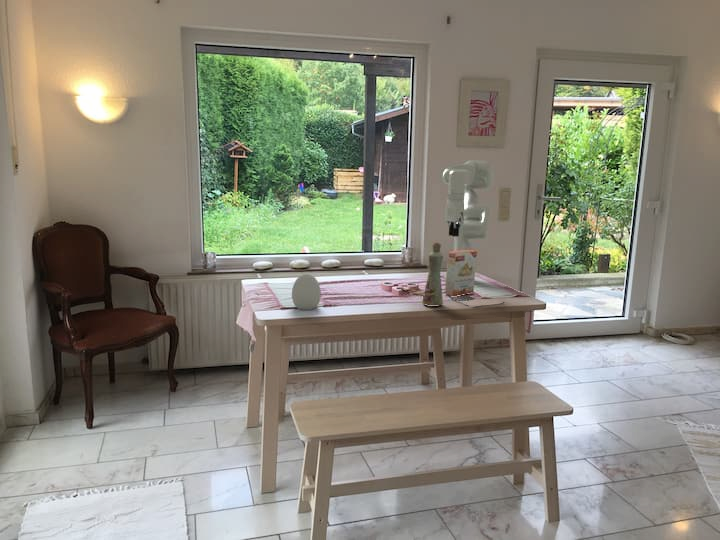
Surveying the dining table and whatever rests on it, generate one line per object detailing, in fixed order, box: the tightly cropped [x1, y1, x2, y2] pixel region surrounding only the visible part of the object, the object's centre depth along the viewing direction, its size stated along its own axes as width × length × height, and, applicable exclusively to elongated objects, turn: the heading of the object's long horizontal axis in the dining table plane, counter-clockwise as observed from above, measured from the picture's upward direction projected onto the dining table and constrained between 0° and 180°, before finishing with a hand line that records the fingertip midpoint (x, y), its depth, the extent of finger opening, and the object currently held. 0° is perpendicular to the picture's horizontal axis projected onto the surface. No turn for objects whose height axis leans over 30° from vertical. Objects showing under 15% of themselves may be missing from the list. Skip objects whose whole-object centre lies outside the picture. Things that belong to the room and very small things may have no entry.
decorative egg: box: [291, 272, 322, 311], centre depth 252 cm, size 12×12×15 cm
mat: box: [449, 295, 475, 301], centre depth 272 cm, size 16×18×1 cm
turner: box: [410, 288, 425, 297], centre depth 283 cm, size 16×5×1 cm, turn 48°
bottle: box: [421, 242, 444, 306], centre depth 260 cm, size 9×9×28 cm
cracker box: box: [444, 250, 478, 297], centre depth 281 cm, size 14×6×21 cm, turn 126°
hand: (453, 235), depth 284 cm, fingers closed
